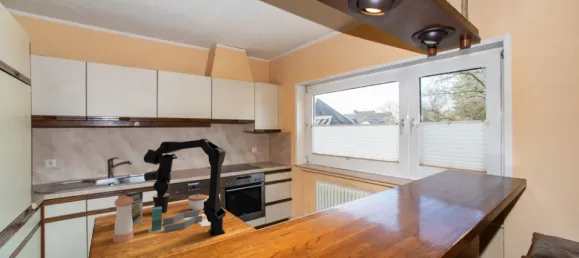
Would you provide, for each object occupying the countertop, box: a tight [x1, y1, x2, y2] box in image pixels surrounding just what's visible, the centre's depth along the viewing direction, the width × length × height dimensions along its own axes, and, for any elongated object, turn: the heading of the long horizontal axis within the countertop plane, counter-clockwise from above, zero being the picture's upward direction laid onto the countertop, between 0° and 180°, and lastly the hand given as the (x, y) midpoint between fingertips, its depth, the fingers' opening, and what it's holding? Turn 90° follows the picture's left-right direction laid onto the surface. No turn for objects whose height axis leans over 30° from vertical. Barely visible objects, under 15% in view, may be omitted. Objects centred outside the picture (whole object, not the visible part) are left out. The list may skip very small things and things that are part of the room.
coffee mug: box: [152, 192, 170, 214], centre depth 143 cm, size 12×9×10 cm
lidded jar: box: [187, 193, 208, 212], centre depth 151 cm, size 11×11×9 cm
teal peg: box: [151, 206, 163, 231], centre depth 120 cm, size 4×4×10 cm
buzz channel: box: [148, 210, 210, 234], centre depth 128 cm, size 19×32×4 cm, turn 120°
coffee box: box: [117, 190, 144, 226], centre depth 126 cm, size 9×6×16 cm
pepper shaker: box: [112, 195, 134, 244], centre depth 108 cm, size 7×7×19 cm
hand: (160, 197), depth 122 cm, fingers open, 9 cm apart
